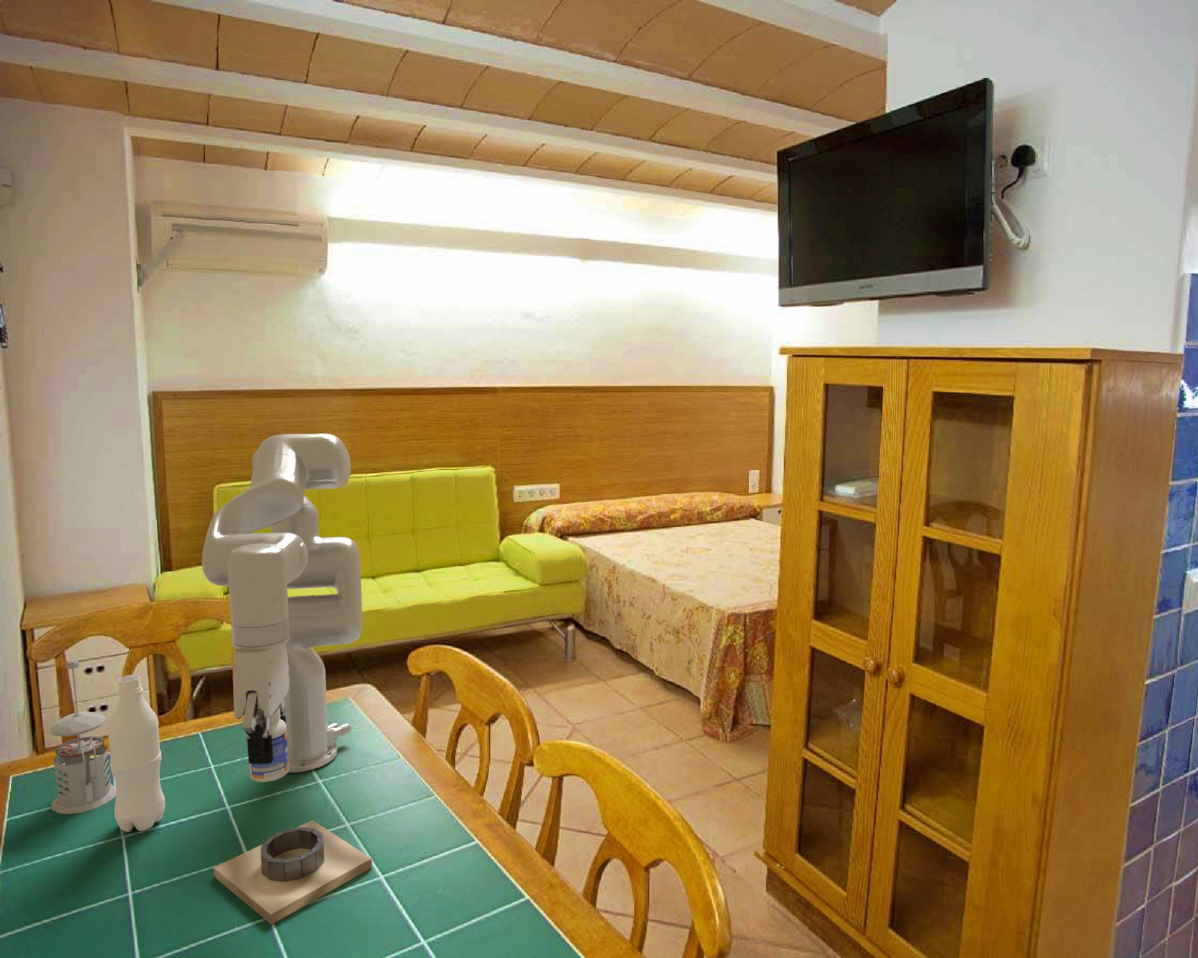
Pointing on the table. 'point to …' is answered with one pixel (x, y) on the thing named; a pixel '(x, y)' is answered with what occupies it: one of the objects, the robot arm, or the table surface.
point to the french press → (81, 762)
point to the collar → (297, 865)
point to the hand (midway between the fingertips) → (268, 750)
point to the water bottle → (135, 758)
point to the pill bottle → (280, 751)
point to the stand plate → (290, 896)
